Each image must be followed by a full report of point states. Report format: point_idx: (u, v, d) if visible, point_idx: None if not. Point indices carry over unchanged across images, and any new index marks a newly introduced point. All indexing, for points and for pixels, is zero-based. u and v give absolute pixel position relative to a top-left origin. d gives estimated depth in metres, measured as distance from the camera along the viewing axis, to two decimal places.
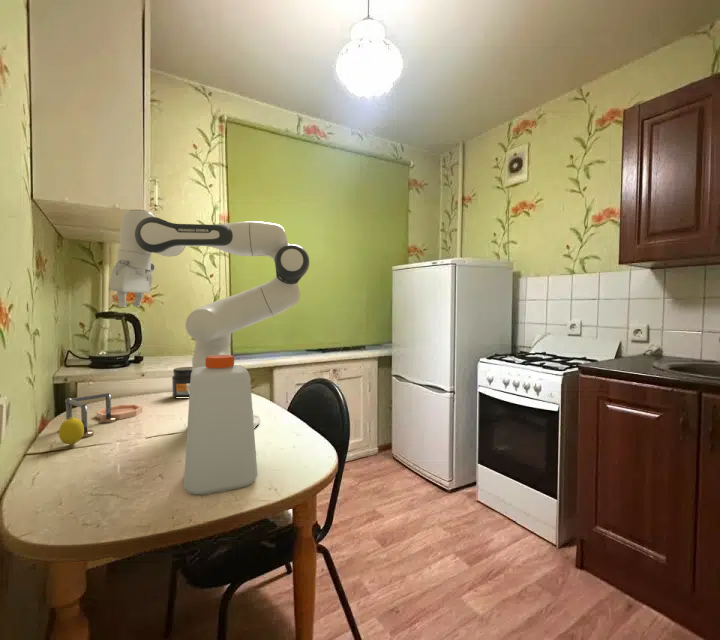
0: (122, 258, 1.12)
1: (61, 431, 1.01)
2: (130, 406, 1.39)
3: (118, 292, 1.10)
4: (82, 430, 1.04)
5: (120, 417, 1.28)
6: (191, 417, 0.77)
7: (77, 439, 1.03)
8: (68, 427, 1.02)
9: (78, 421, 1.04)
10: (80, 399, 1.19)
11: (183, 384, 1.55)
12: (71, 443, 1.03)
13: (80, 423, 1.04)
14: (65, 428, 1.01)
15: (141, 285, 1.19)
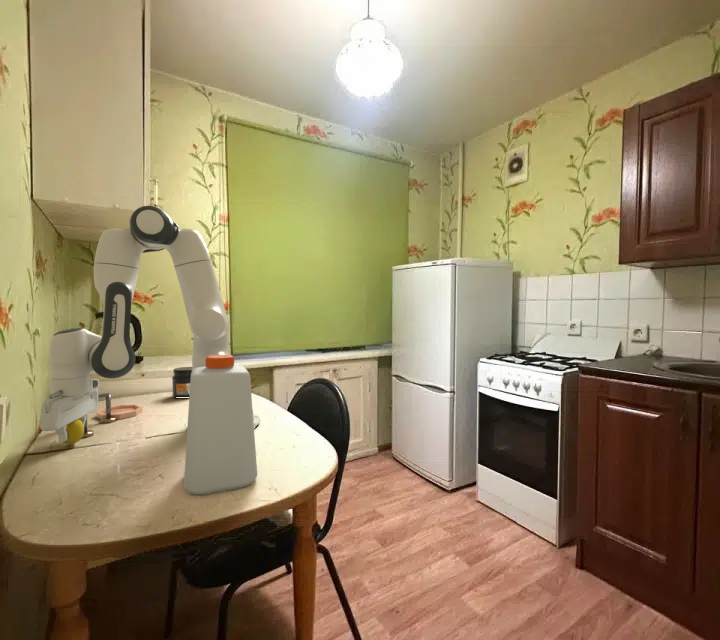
0: (54, 388, 0.99)
1: None
2: (130, 406, 1.39)
3: None
4: (82, 430, 1.04)
5: (120, 417, 1.28)
6: (191, 417, 0.77)
7: (77, 439, 1.03)
8: (68, 427, 1.02)
9: (78, 421, 1.04)
10: None
11: (183, 384, 1.55)
12: (71, 443, 1.03)
13: (80, 423, 1.04)
14: None
15: (84, 408, 1.07)
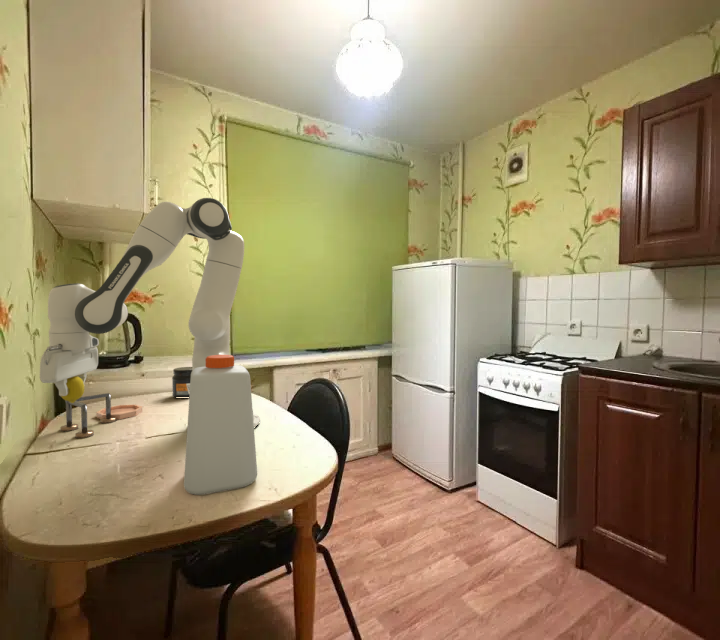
0: (54, 342, 0.99)
1: None
2: (130, 406, 1.39)
3: None
4: (82, 387, 1.04)
5: (120, 417, 1.28)
6: (191, 417, 0.77)
7: (77, 396, 1.03)
8: (68, 384, 1.01)
9: (78, 378, 1.04)
10: (80, 399, 1.19)
11: (183, 384, 1.55)
12: (71, 400, 1.03)
13: (80, 380, 1.04)
14: None
15: (84, 365, 1.06)
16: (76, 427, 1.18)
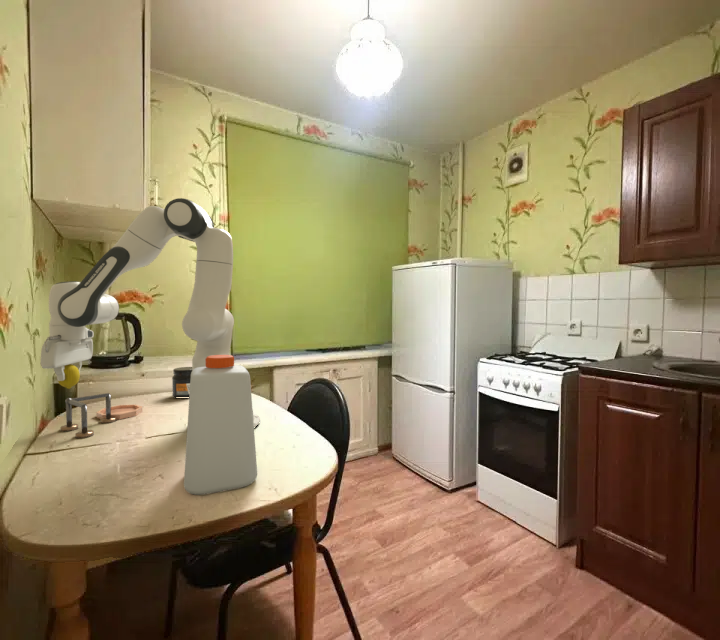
0: (53, 333, 1.12)
1: None
2: (130, 406, 1.39)
3: (55, 367, 1.11)
4: (78, 375, 1.17)
5: (120, 417, 1.28)
6: (191, 417, 0.77)
7: (73, 383, 1.16)
8: (66, 371, 1.14)
9: (74, 367, 1.16)
10: (80, 399, 1.19)
11: (183, 384, 1.55)
12: (68, 386, 1.15)
13: (76, 369, 1.17)
14: None
15: (80, 354, 1.19)
16: (76, 427, 1.18)
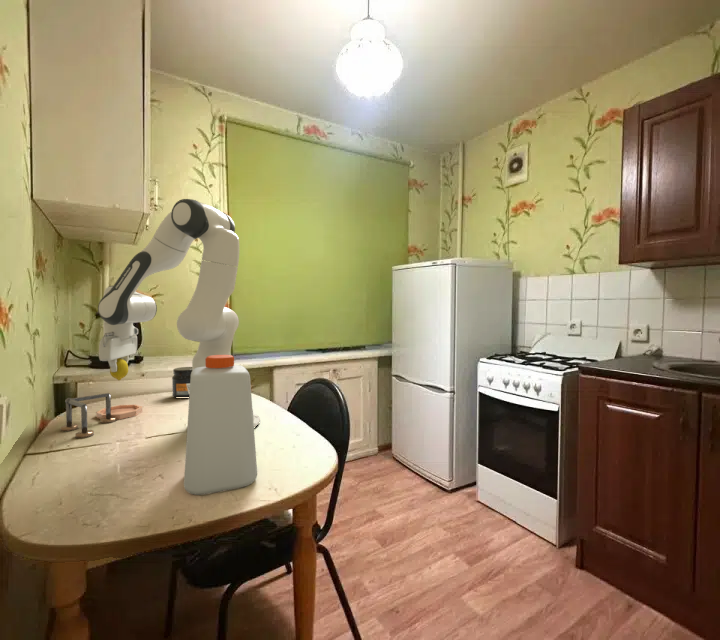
0: (107, 330, 1.28)
1: None
2: (130, 406, 1.39)
3: None
4: (127, 368, 1.33)
5: (120, 417, 1.28)
6: (191, 417, 0.77)
7: (123, 375, 1.32)
8: (117, 365, 1.30)
9: (124, 361, 1.33)
10: (80, 399, 1.19)
11: (183, 384, 1.55)
12: (119, 378, 1.32)
13: (126, 363, 1.33)
14: None
15: (128, 349, 1.36)
16: (76, 427, 1.18)
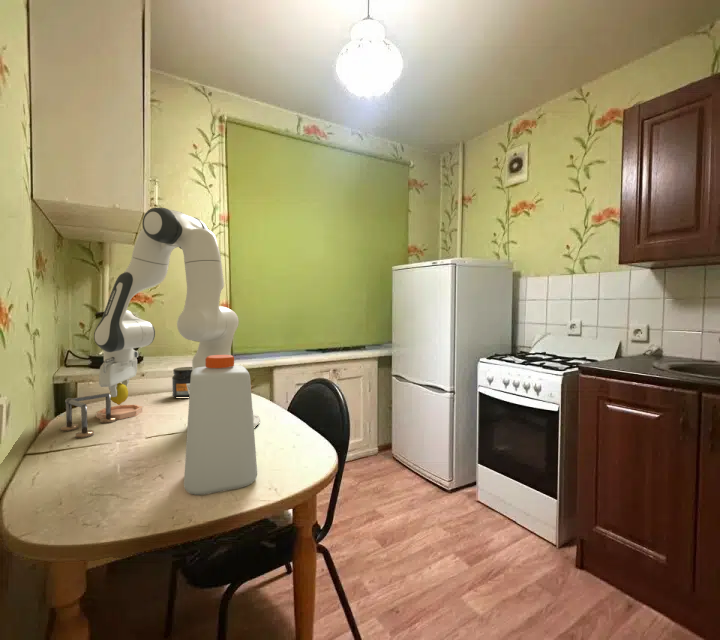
0: (108, 355, 1.28)
1: None
2: (130, 406, 1.39)
3: None
4: (127, 393, 1.34)
5: (120, 417, 1.28)
6: (191, 417, 0.77)
7: (123, 399, 1.32)
8: (117, 390, 1.31)
9: (124, 386, 1.33)
10: (80, 399, 1.19)
11: (183, 384, 1.55)
12: (119, 402, 1.32)
13: (125, 387, 1.33)
14: None
15: (128, 373, 1.36)
16: (76, 427, 1.18)
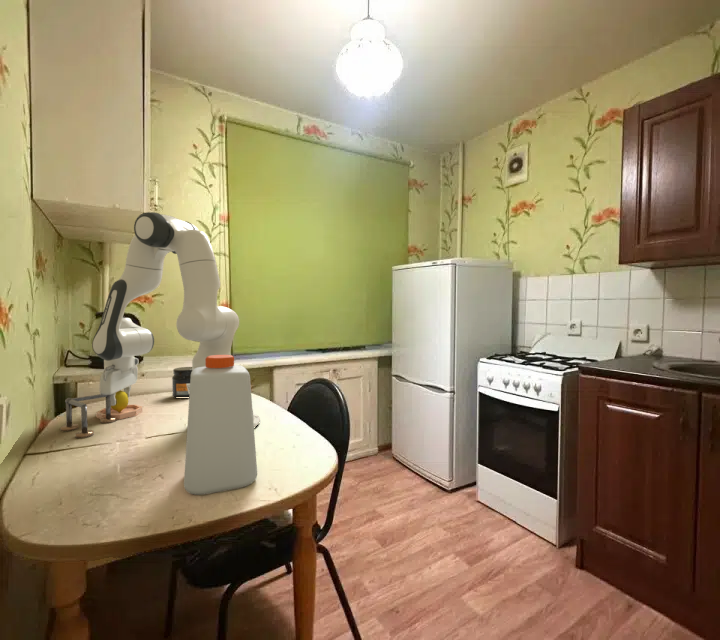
0: (108, 363, 1.28)
1: None
2: (130, 406, 1.39)
3: None
4: (127, 400, 1.34)
5: (120, 417, 1.28)
6: (191, 417, 0.77)
7: (123, 407, 1.32)
8: (117, 397, 1.31)
9: (124, 393, 1.33)
10: (80, 399, 1.19)
11: (183, 384, 1.55)
12: (119, 410, 1.32)
13: (126, 395, 1.33)
14: (115, 398, 1.31)
15: (128, 380, 1.36)
16: (76, 427, 1.18)
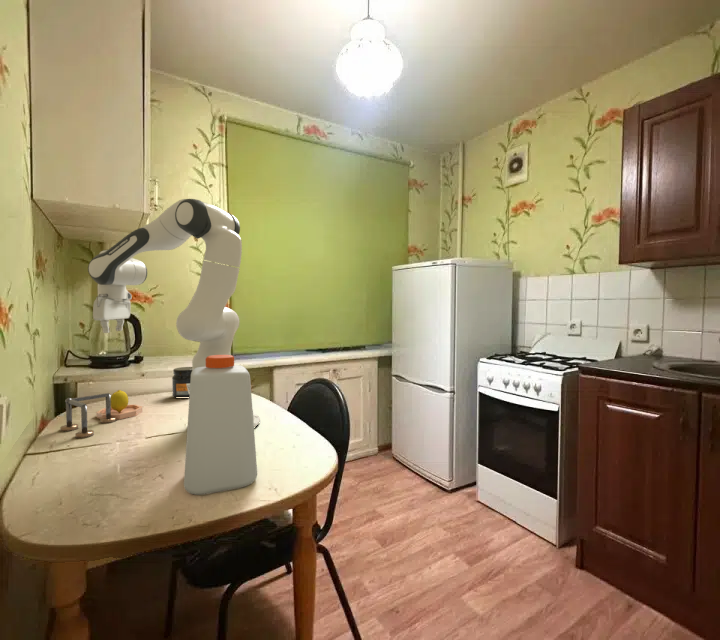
0: (101, 292, 1.34)
1: (112, 400, 1.31)
2: (130, 406, 1.39)
3: (101, 321, 1.32)
4: (127, 400, 1.34)
5: (120, 417, 1.28)
6: (191, 417, 0.77)
7: (123, 407, 1.32)
8: (117, 397, 1.31)
9: (124, 393, 1.33)
10: (80, 399, 1.19)
11: (183, 384, 1.55)
12: (119, 410, 1.32)
13: (126, 395, 1.33)
14: (115, 398, 1.31)
15: (121, 312, 1.41)
16: (76, 427, 1.18)
